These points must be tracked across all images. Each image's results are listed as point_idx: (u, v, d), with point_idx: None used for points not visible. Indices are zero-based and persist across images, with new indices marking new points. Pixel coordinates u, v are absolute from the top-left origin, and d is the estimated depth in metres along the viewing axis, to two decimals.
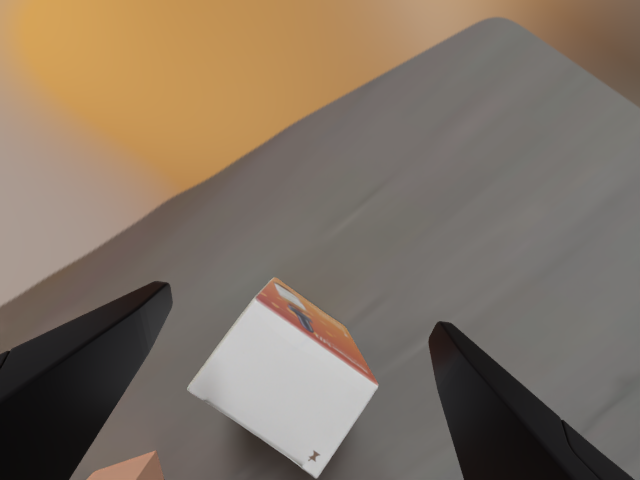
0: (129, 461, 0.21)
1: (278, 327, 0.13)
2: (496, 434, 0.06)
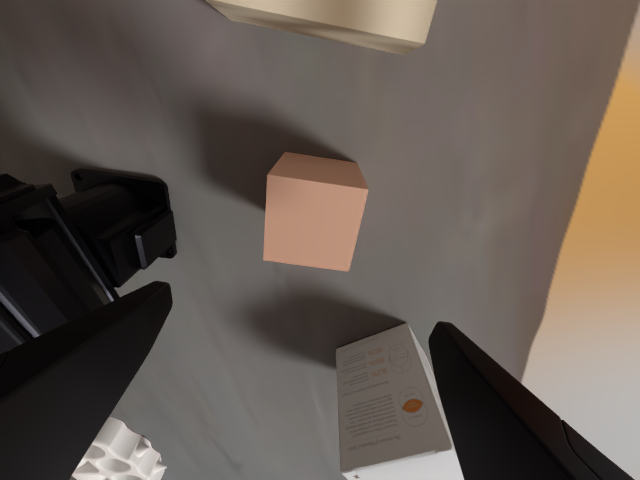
0: None
1: None
2: (496, 434, 0.06)
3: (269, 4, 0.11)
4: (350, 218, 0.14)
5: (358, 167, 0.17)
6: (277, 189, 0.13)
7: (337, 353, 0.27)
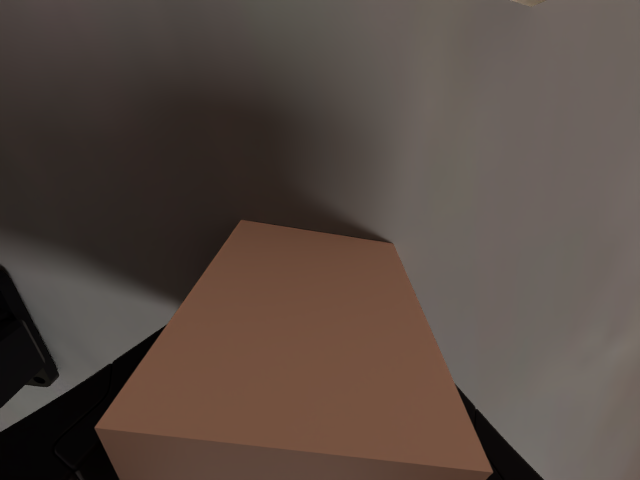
0: None
1: None
2: None
3: None
4: None
5: (403, 269, 0.07)
6: (150, 457, 0.03)
7: None
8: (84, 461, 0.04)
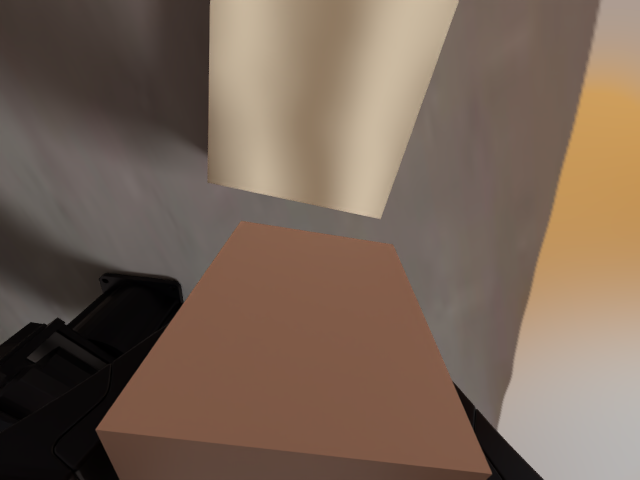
0: None
1: None
2: None
3: (260, 188, 0.15)
4: None
5: (403, 270, 0.07)
6: (150, 459, 0.03)
7: None
8: (84, 461, 0.04)
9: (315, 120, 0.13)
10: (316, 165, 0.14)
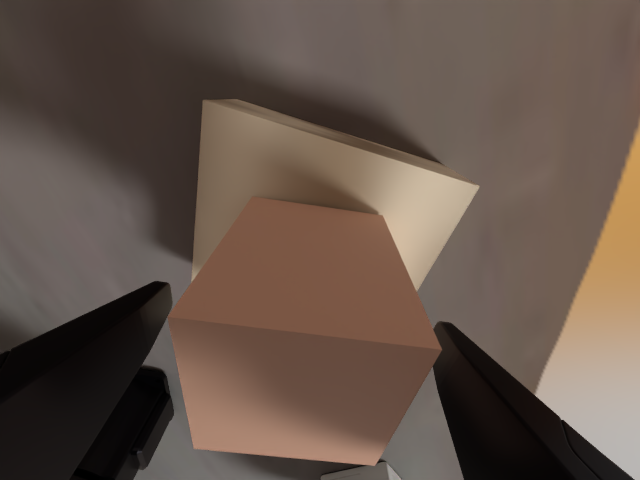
0: None
1: None
2: (496, 434, 0.06)
3: None
4: (387, 396, 0.06)
5: (389, 233, 0.09)
6: (202, 345, 0.05)
7: None
8: None
9: None
10: None
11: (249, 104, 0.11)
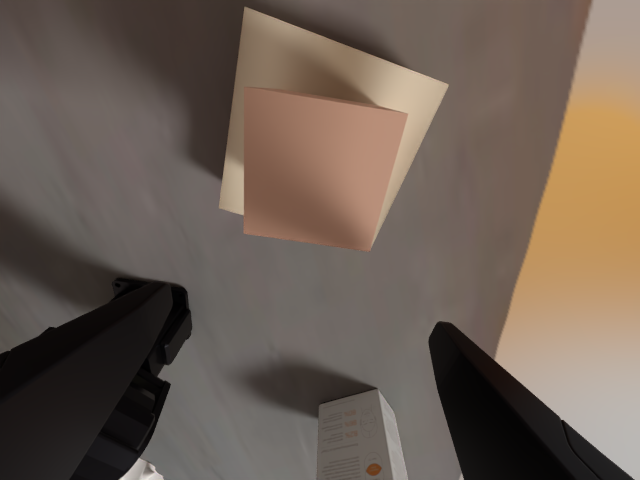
0: None
1: None
2: (496, 434, 0.06)
3: None
4: (376, 165, 0.09)
5: None
6: (261, 113, 0.08)
7: (320, 409, 0.32)
8: None
9: None
10: None
11: None
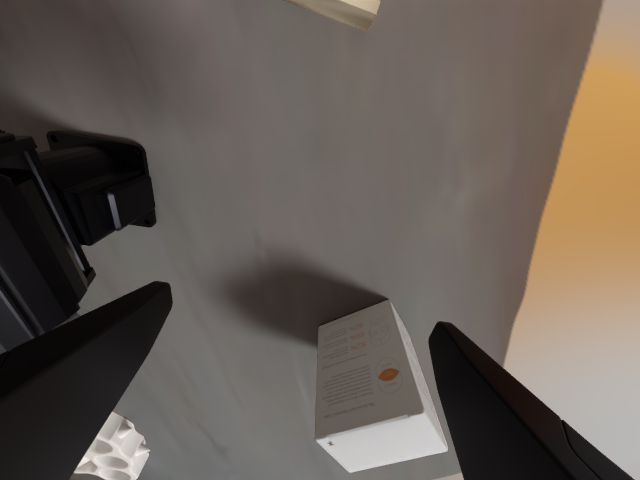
0: None
1: (421, 454, 0.18)
2: (496, 434, 0.06)
3: None
4: None
5: None
6: None
7: (319, 330, 0.26)
8: None
9: None
10: None
11: None
